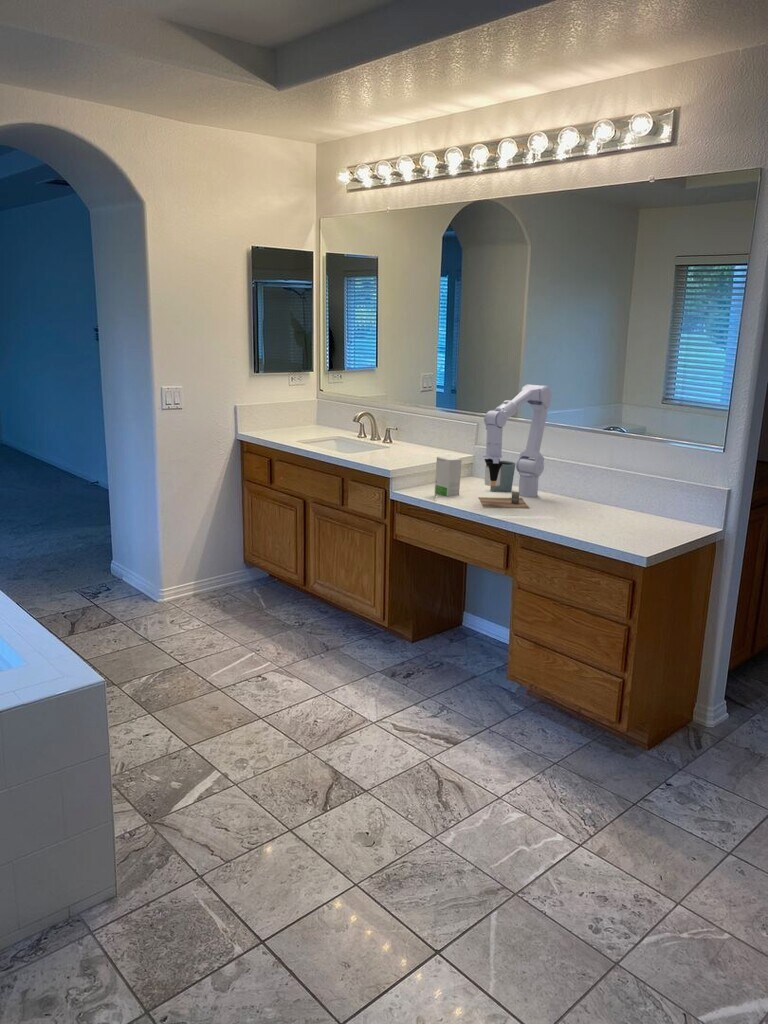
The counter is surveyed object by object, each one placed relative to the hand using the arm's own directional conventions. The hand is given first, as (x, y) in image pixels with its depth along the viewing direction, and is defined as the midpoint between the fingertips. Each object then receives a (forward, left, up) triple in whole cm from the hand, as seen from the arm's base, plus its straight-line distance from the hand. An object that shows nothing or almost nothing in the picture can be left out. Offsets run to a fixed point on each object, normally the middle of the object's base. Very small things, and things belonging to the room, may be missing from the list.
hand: (492, 479), depth 301 cm
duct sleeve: (0, 0, -2) cm, 2 cm away
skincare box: (-15, -16, -10) cm, 24 cm away
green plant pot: (-26, +7, -10) cm, 29 cm away
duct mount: (0, +4, -10) cm, 11 cm away
